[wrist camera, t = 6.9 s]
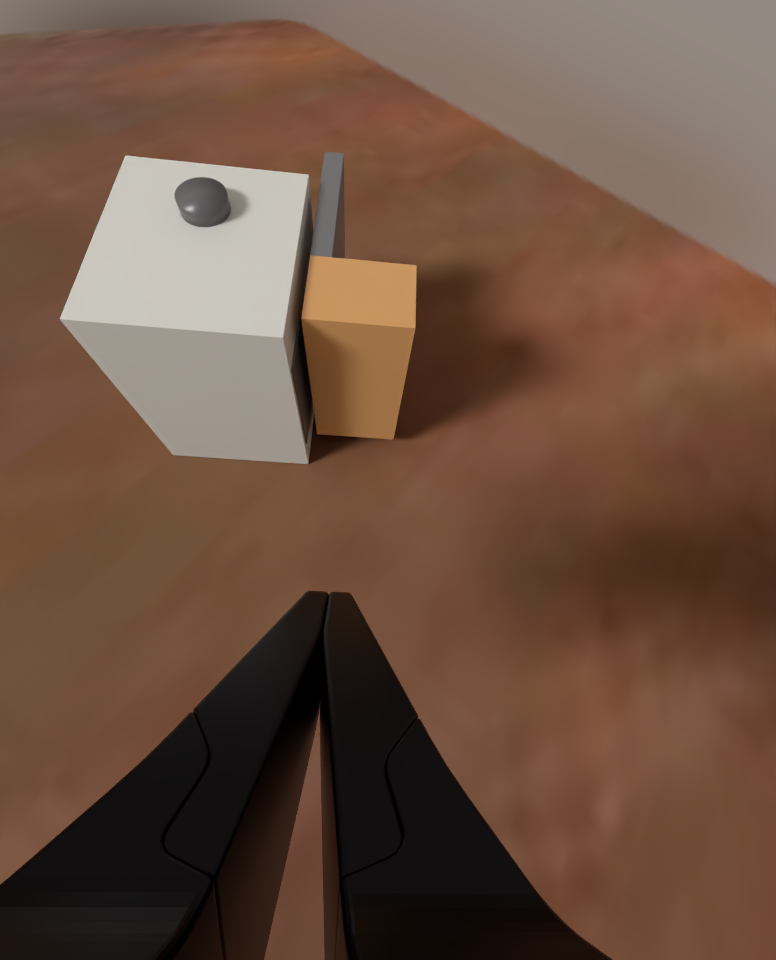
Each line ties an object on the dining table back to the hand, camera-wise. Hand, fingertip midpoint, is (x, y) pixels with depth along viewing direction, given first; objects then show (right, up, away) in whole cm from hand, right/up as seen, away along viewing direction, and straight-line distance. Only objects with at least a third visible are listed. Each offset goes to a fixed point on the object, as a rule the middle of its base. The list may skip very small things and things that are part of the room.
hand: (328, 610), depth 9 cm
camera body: (-6, +7, +16) cm, 19 cm away
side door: (0, +9, +17) cm, 19 cm away
